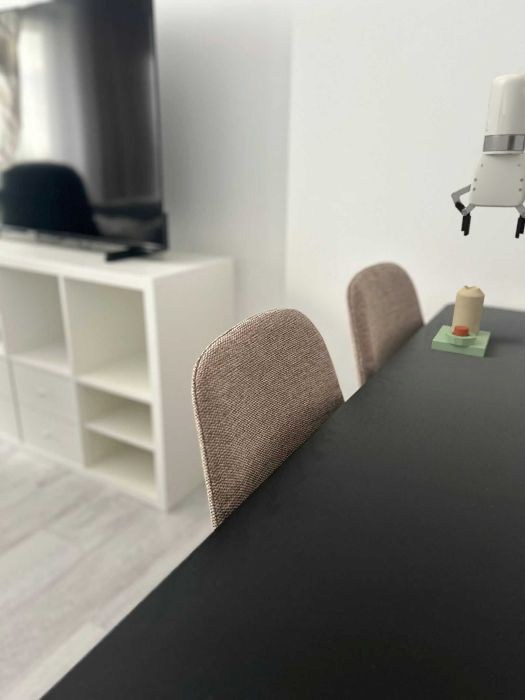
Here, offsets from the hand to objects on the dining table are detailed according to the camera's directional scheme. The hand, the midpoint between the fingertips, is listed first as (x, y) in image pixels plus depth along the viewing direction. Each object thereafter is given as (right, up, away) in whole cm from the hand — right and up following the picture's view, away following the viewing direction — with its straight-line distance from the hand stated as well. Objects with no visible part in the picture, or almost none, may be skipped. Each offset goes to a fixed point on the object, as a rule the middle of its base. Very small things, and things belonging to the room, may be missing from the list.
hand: (491, 236), depth 105 cm
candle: (-3, -20, +6) cm, 21 cm away
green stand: (-5, -22, +4) cm, 23 cm away
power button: (-7, -20, -1) cm, 21 cm away
